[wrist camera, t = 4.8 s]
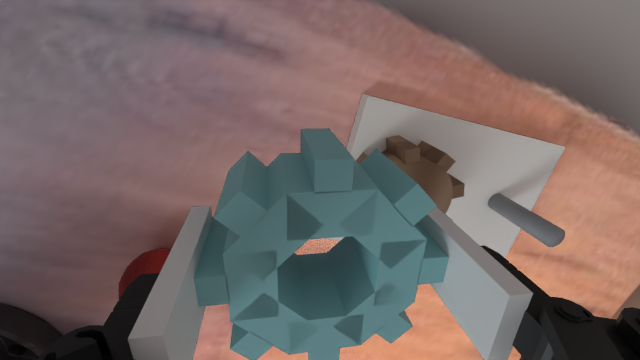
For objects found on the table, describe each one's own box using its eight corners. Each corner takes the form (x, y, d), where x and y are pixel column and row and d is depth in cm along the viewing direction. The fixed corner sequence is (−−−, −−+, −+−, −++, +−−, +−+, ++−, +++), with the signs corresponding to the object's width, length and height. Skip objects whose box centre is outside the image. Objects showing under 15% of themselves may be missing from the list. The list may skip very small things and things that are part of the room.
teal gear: (223, 305, 15) (209, 383, 12) (200, 129, 12) (172, 163, 8) (391, 288, 17) (426, 353, 13) (416, 127, 13) (472, 155, 10)
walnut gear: (337, 217, 29) (348, 240, 25) (365, 127, 26) (382, 138, 22) (418, 228, 31) (438, 251, 27) (452, 147, 28) (480, 160, 24)
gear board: (322, 230, 31) (342, 289, 23) (362, 93, 26) (404, 109, 18) (494, 252, 36) (557, 306, 29) (552, 143, 32) (646, 171, 24)
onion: (173, 290, 30) (145, 364, 23) (124, 257, 28) (76, 327, 21) (216, 257, 30) (201, 322, 22) (170, 219, 27) (136, 279, 20)
